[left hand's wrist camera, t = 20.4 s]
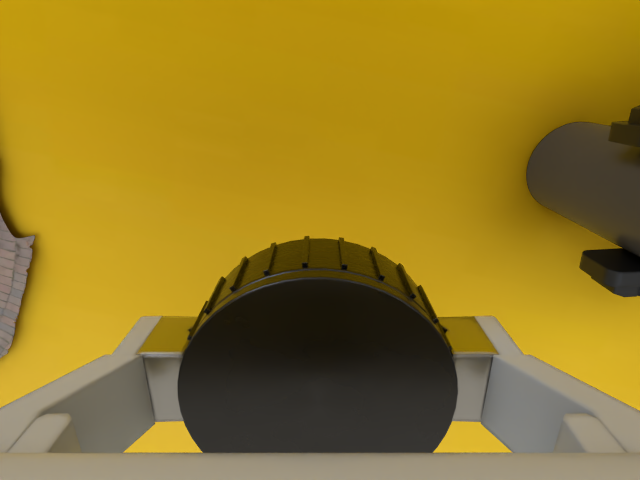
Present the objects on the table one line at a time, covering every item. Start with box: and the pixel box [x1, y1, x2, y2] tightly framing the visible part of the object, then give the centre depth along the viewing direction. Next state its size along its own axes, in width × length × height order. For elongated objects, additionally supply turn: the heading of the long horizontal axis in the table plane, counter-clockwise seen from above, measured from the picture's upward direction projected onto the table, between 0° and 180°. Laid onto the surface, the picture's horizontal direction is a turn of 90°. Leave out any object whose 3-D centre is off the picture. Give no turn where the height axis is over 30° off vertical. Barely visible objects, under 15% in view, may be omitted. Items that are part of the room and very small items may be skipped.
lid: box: [177, 236, 458, 453], centre depth 9 cm, size 6×6×2 cm
